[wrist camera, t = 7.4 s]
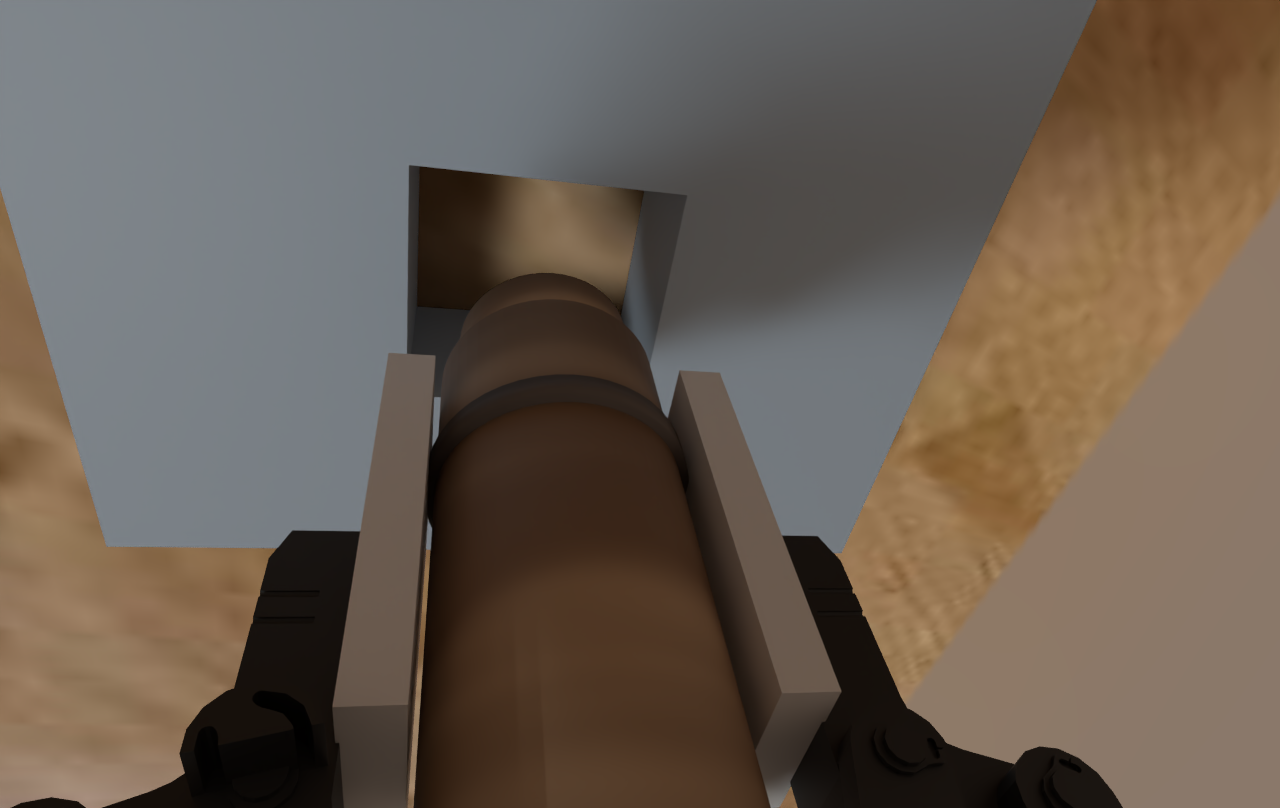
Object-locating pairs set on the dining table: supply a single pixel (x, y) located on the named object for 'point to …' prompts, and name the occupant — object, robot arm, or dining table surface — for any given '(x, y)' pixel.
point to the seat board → (503, 145)
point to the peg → (568, 577)
